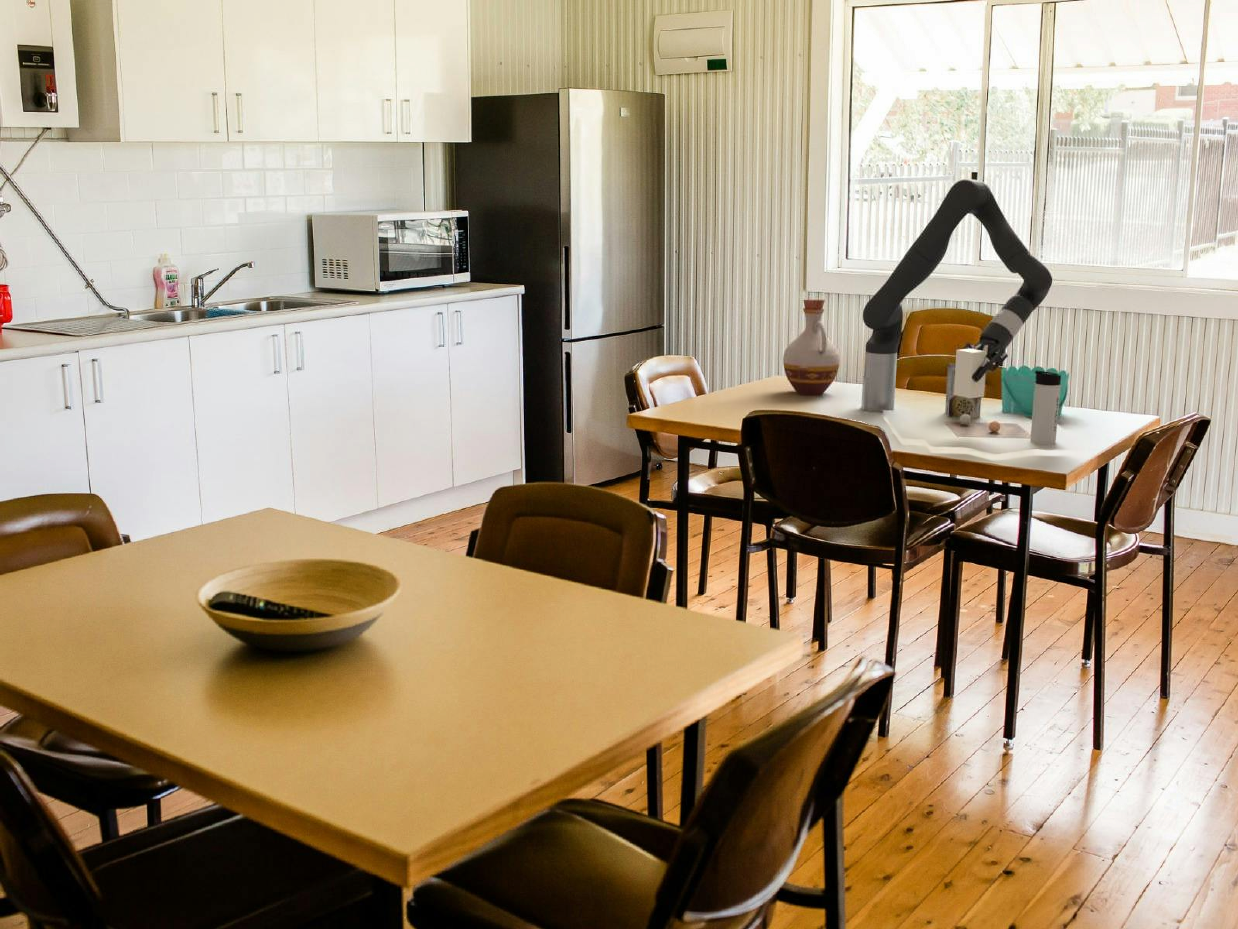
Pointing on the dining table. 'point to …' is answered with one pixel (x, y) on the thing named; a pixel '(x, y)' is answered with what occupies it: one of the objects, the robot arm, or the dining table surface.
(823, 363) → the jug
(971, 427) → the board
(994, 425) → the ball
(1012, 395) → the basket
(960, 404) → the coffee box
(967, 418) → the grey ball
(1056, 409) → the travel mug
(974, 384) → the cream tall block
